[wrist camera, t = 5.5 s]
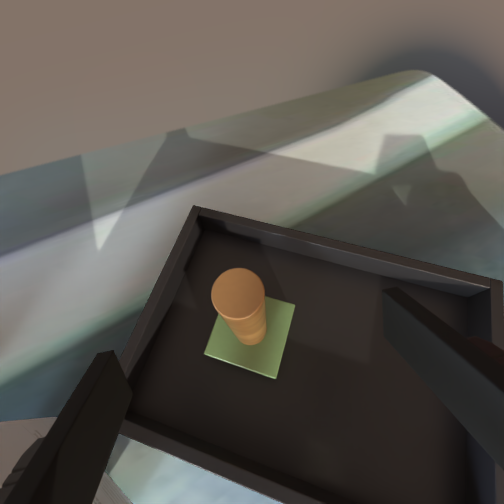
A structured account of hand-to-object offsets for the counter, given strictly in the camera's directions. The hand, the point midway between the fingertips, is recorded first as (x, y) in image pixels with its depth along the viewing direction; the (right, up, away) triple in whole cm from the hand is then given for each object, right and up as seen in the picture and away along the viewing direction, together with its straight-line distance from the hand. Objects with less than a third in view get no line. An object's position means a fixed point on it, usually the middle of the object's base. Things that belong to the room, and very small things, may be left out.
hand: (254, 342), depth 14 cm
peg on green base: (0, -2, +8) cm, 8 cm away
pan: (+4, -3, +8) cm, 9 cm away
